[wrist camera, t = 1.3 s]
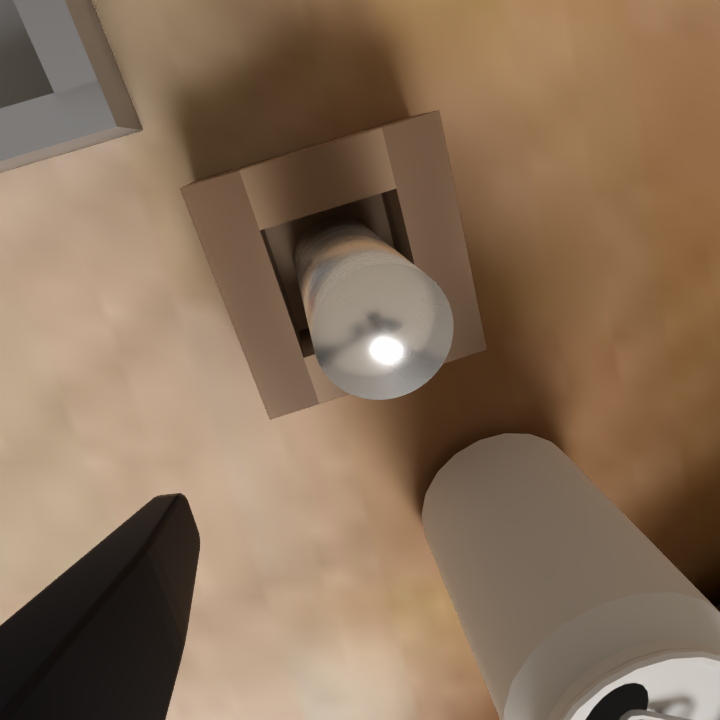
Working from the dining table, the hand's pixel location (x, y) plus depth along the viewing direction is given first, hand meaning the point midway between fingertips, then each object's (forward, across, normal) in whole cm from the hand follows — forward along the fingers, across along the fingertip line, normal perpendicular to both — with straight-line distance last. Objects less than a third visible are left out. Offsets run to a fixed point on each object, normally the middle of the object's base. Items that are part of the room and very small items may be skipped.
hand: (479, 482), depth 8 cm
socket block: (+14, +3, 0) cm, 14 cm away
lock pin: (+14, +2, 0) cm, 14 cm away
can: (+14, -3, +12) cm, 19 cm away
